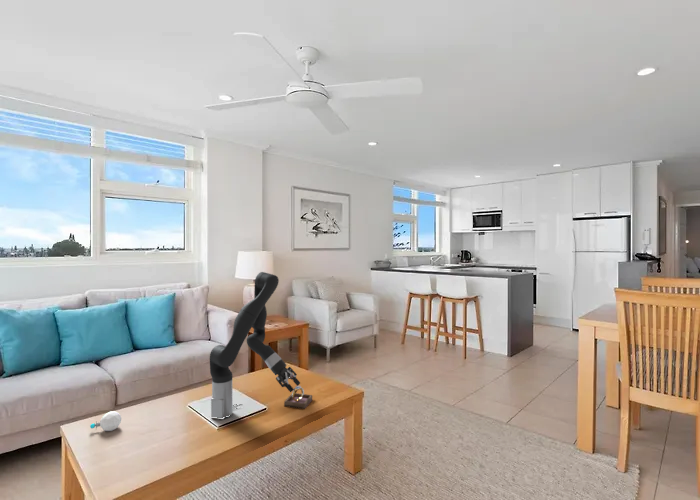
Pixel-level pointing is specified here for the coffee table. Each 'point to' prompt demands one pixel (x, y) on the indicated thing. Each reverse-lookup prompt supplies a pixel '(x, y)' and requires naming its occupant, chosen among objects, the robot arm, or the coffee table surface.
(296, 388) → the ring
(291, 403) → the jewellery tray
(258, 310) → the robot arm
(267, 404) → the coffee table surface
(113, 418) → the perfume bottle
